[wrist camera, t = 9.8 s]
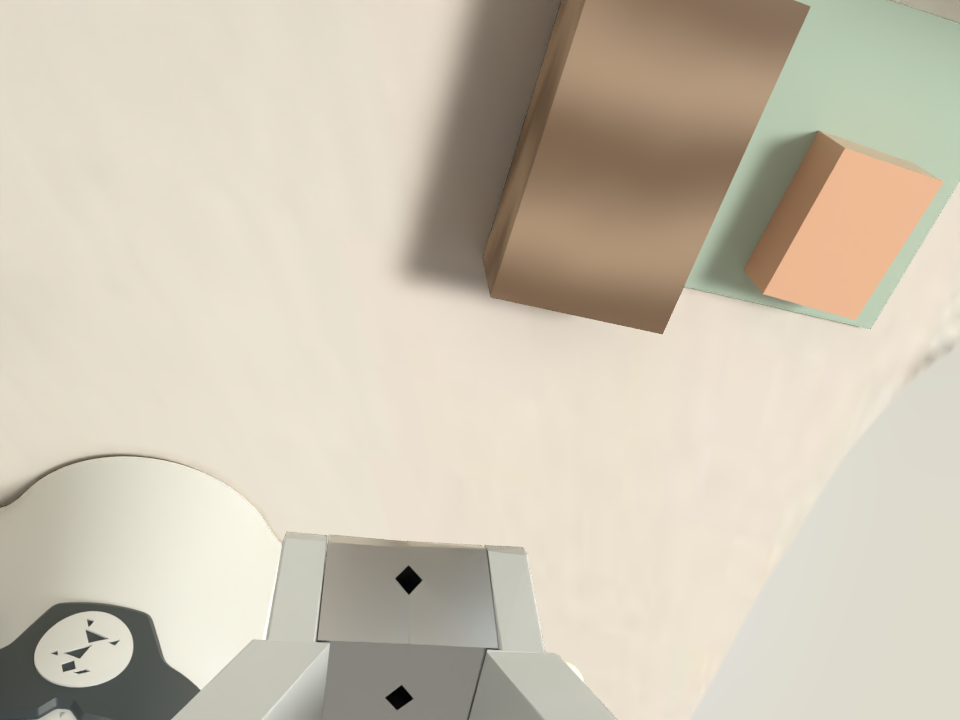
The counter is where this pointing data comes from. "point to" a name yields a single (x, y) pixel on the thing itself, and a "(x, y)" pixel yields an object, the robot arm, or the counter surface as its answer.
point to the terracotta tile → (840, 226)
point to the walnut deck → (632, 151)
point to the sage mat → (843, 130)
